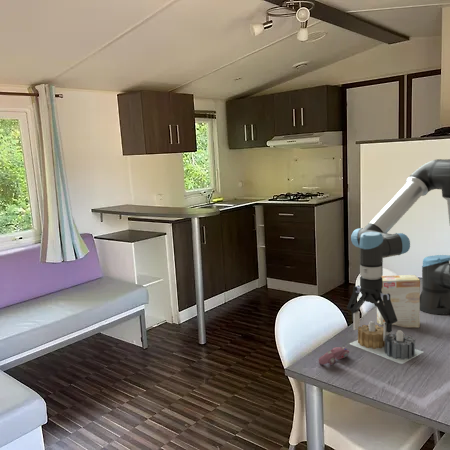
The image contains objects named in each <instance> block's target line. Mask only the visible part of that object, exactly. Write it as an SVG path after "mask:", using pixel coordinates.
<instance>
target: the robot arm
mask: <svg viewBox="0 0 450 450" xmlns="http://www.w3.org/2000/svg"><path fill="white" fill-rule="evenodd" d="M433 190H441V196H442V198H443V199H445V200H446V203H447V212H448V213H447V215H448V223H449V225H450V158H449V159H447V158H446V159H445V158H444V159H440V158H439V159H437V158H436V159H433V160H430V161H428V162H426V163H424V164H422V165H421V166H420V167H418V168H417V169H415V170H414V171H413V172H412V173H411V174H410V175H409V176H408V177H406V179H405V184H404V185H403V186H402V187H401V188H400V189H399V190H398V191H397V192H396V194H394V196H393V197H392V198H391V199H390V200H389V201H387V203H386V204H385V205H384V206H383V208H382V209H381V210H380V211H378V213H377V214H376V215H375V216H373V218H372V219H371V220H370V222H368V223H367V225H366V226H364V227H361V228H360V227H359V228H356V229H354V230H353V231H352V233H351V235H350V240H351V243H352V245H353V246H355V248H359V275H360V277H359V285H356V286H355V285H354V286H353V288H352V294H351V296H350V299H349V301H348V304H347V306H346V309H347V310H350V312H351V320H352V321H353V323H352V324H353V327H352V330H353V331H356V330H357V331H358V327H359V326H361V325H360V323H361V321H360V320H361V319H360V314H361V313H360V311H359V309H360V308H362V306H363V305H364V304H365V302H367V303H371V304H373V305H374V307H376V309H377V308H378V310H379V312H380V313H381V315H382V317H383V319H384V321H385V323H383V326H382V327H383V341H384V338H385V336H386V335H387V336H388V334H391V332H392V330H393V325H392V324H393V323H395V322H397V317H396V315H395V312H394V309H393V306H392V303H391V300H390V294H389V293H388V294H383V293H382V281H383V279H382V276H384V275H383V274H384V271H383V270H384V269H383V268H384V267H383V264H384V263H383V262H384V261H383V260H384V259H385V258H389V257H395V256H401V255H403V254H406V253H408V251H409V250H410V248H411V239H410V238H409V237H408V236H407V235H406V234H405V233H403V232H402V233H401V232H400V233H397V232H395V233H393V234H392V233H388V232H390V231H391V229H392V228H393V227H394V226H395V225H396V224H397V223H398V222H399V221H400V220H401V218H402V217H403V216H404V215H405V214H406V213H407V212H408V211H409V210H410V208H412V207H413V206H414V204H416V202H417V201H418V200H419V199H420V198H421V197H425V196H426V195H428V193H429V192H431V191H433ZM421 269H422V270H421V272H422V273H421V275H422V277H421V287H422V289H421V291H420V311H422V312H424V313H428V314H432V315H450V255H449V254H438V255H437V254H435V255H429V256H426V257H424V258H423V259H422V266H421ZM360 294H361V296H360V297H359V295H360ZM381 297H382V299H381ZM358 299H359V300H358ZM357 300H358V301H357ZM378 301H379V303H378ZM383 302H384V304H383Z"/></svg>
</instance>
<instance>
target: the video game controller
mask: <svg viewBox="0 0 450 450" xmlns="http://www.w3.org/2000/svg"><path fill="white" fill-rule="evenodd" d="M349 354H350V350H349V349H348V348H347V347H345V346H344V345H343V346H341V347H340V346H337V347H333V348H332V349H331V350H328V351H326V352H325V353H324V354H323V355H322V356H320V357H318V364H320V365H322V366H323V365H325V364H329V365H330V366H332V364H333V365H334V364H335V363H336V360H341V359H344V358H346V357H348V356H349Z"/></svg>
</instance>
